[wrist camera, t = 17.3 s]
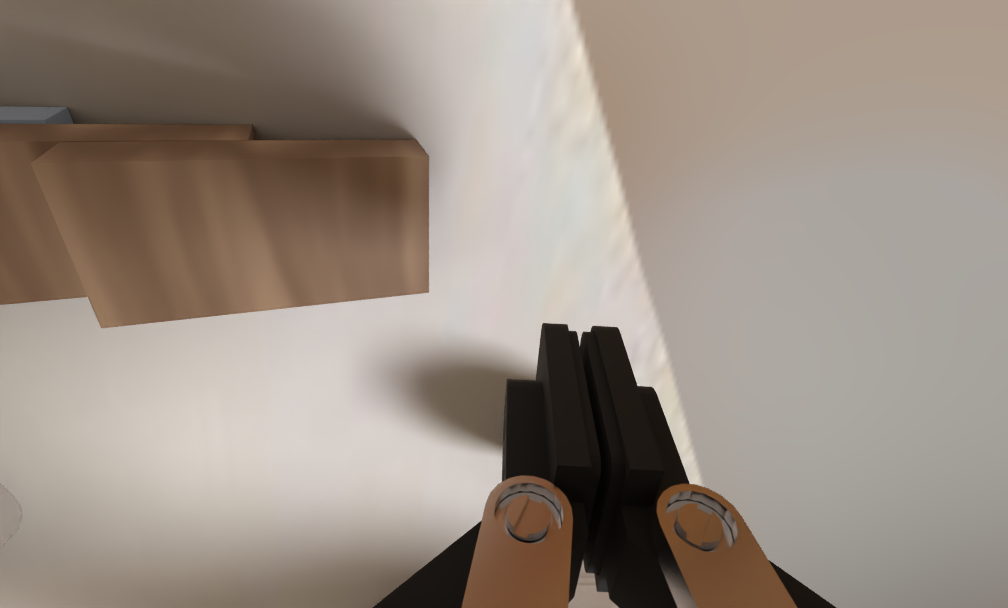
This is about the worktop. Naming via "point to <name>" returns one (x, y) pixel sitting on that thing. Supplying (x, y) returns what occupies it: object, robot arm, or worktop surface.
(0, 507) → the lumpy-topped squat cylinder
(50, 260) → the domino
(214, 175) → the domino
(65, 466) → the worktop surface
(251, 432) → the worktop surface
